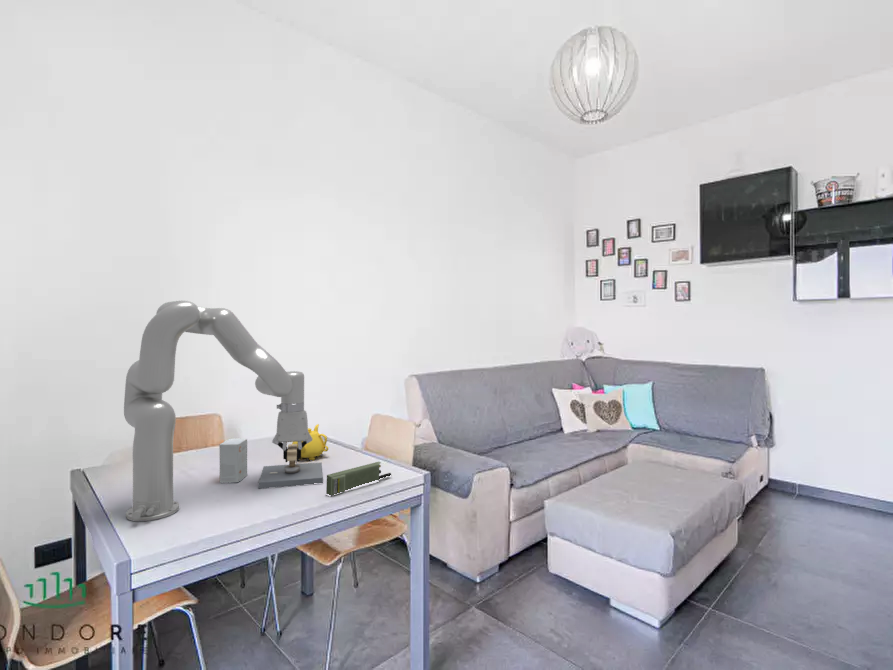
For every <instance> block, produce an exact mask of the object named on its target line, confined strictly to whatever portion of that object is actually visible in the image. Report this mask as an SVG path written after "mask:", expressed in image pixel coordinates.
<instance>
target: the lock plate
mask: <svg viewBox="0 0 893 670" xmlns="http://www.w3.org/2000/svg"><path fill="white" fill-rule="evenodd" d="M295 464H296V465H300V471H299V472H296V473H285V466H287V465H288V464H279V465H277V464H276V465H264V466H263V467H262V470H261V474H260V477H259V480H258V482H257V483H258V487H257V489H258V488H263V489H270V488H269V487H275V488H284V486H288V487H297V486H296V485H300V486H305V485H304V484H313V485H315V484H314V483H323V484H324V474H323V465H322V464H323V463H322V462H309V463H306V462H305V463H295Z"/></svg>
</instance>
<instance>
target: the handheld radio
mask: <svg viewBox="0 0 893 670" xmlns="http://www.w3.org/2000/svg"><path fill="white" fill-rule="evenodd" d="M381 464H382V462H381V461H375V462H371V463H368V464H364V465H360V466H356V467H352V468H347V469H345V470H342V471H341V470H340V471H337V472H333V473H329V474H326V490H325V491H326V493H325V495H326V494H329V495H334V494H337V493H340V492H344V491H345V490H348V489H351V488H353V487H356V486H359V485H362V484H365V483H369V482H372V481H375V480H379V479H380V478H383V477H386V476H390V475H391V476H392V472H387V473H384V474H381V473H382V471H381V469H380V468H381V467H382V465H381ZM380 474H381V475H380ZM383 479H384V478H383ZM380 480H381V479H380ZM380 480H379V481H380ZM334 496H335V495H334Z"/></svg>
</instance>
